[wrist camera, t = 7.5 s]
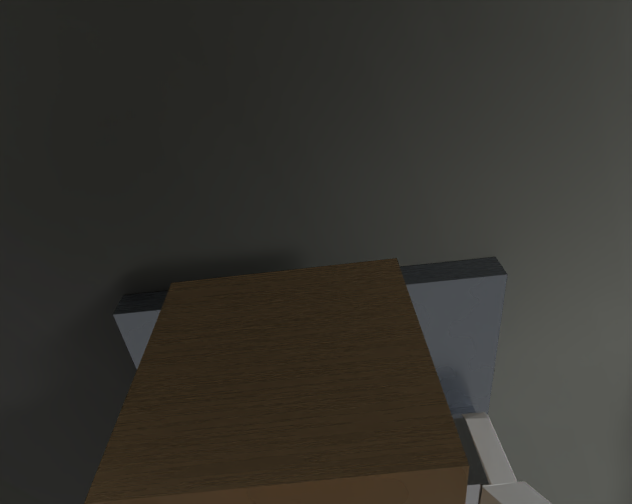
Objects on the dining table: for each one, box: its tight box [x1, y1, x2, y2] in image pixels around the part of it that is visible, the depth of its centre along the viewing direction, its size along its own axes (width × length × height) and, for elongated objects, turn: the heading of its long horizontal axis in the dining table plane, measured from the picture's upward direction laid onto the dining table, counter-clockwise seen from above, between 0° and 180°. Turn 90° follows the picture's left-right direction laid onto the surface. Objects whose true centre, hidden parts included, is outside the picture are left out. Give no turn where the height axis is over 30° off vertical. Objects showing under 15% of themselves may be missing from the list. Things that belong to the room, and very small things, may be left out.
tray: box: [113, 257, 507, 415], centre depth 19 cm, size 12×20×4 cm, turn 6°
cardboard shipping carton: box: [84, 258, 469, 504], centre depth 10 cm, size 5×7×5 cm
